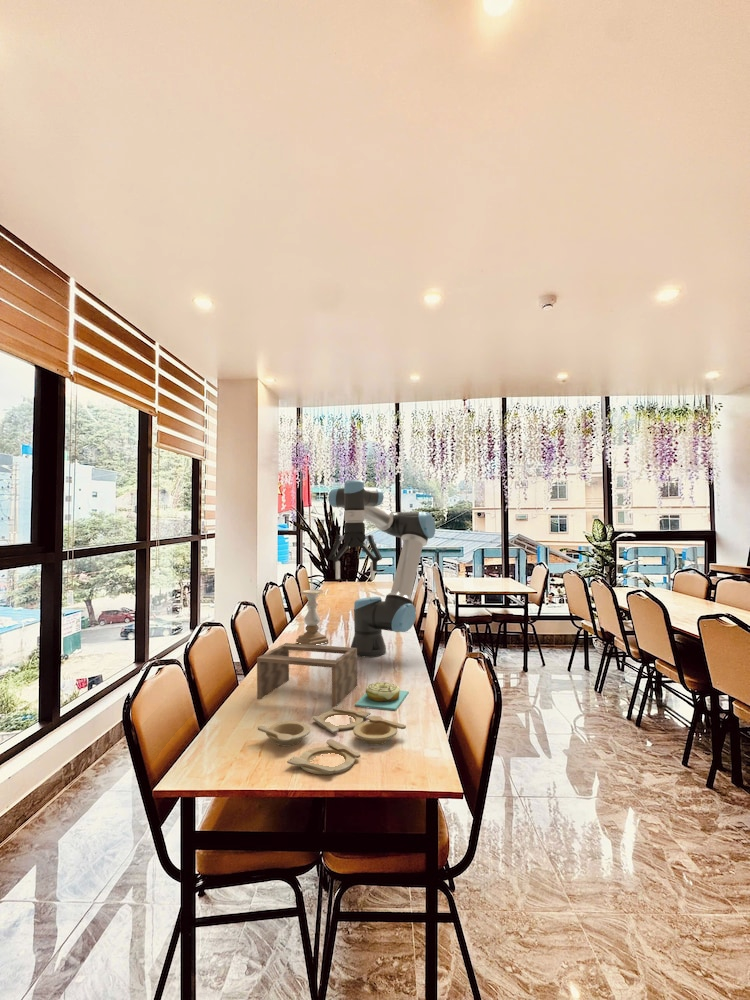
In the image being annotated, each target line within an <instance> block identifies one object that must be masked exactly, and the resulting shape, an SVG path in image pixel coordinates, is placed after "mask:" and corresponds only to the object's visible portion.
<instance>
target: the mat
mask: <svg viewBox="0 0 750 1000" xmlns="http://www.w3.org/2000/svg"><path fill="white" fill-rule="evenodd" d="M399 693H400V694H399V698H397V699H395V700H392V701H380V702H379V701H374V700H372V699H370V698H369V697H368V696H367V694H366V692H365V693H364V694H363V695H362V697H361V698H359V699H358V701H356V703H354V707H356V706H361V707H360V708H366V707H369V708H368V709H375V708H379V709H378V710H385V709H390V710H389V711H395V710H396V711H397V710H398V709H399V707H400V706H401V704H402V703H403V702H404V700H405V699H404V698H406V697H407V696H408V695H409V690H401V689H400V691H399ZM407 694H408V695H407ZM402 701H403V702H402ZM397 708H398V709H397Z"/></svg>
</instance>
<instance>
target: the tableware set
mask: <svg viewBox="0 0 750 1000" xmlns="http://www.w3.org/2000/svg"><path fill="white" fill-rule="evenodd" d="M334 715H348V716H351V717H353V718H354V719H355V722H353V723H352V722H351V724H347V725H339V726H335V725H333V724H331V723H330V722H325V720H326V719H327V718H328V717H331V716H334ZM364 718H368V721H364ZM312 720H313V721H314V722H316V723H317V725H318V726H319V727H321V728H323V729H326V730H328V731H329V732H330V733H332V734H337V733H338V732H339V731H347V730H351V729H353V730H352V731H353V734H354V736H355V737H357V738H358V739H360V740H362V742H363V743H365V744H366V745H371V744H379V745H383V744H385V742H386V743H387V742H388V741H389V739H391V738H393V737H395V736H396V735H397V734H398V733H397V732H398V729H401V730H404V729H406V728H407V725H406V724H403V723H399V722H396V721H395V722H394V721H391V720H387V719H384V718H383V717H382V716H380V715H374V714H373V715H372V714H371V712H369V711H368V712H367V711H361V710H360V711H357V710H356V711H355V710H351V709H346V708H343V707H339V706H336V707H332V711H327V712H324V713H322V714H320V715H319V716H317V715H314V716H312ZM311 730H312V729H311V726H310V725H309V724H307V723H305V722H303V721H296V720H295V721H294V720H288V721H279V722H276V723H273V724H272V725H270V726H268V727H267V726H265V725H259V726H257V731H259V732H262V733H264V734H266V736H267V737H268V738H269V739H271V740H273V741H274V743H275V742H276V743H277V745H278V744H279V745H278V746H281V745H291V746H294V745H293V744H295V745H297V743H298V744H299V743H300V742H301V741H302V740H303V738H304V737H306V736H308V735H309V734H310V732H311ZM382 743H383V744H382ZM326 744H327V745H326V746H317V747H314V748H311V749H308V750H306V751H304V752H303V753H301V755H300V756H293V757H291V758H290V759H288V760H287V761H286V763H287V764H289V765H292V766H296V767H300V768H301V769H302V770H303V771H305V772H308V773H311V774H314V775H322V774H323V775H334V774H333V773H336V774H339V773H338V772H340V773H343V772H346V771H348V770H350V767H351V766H352V765H353V766H354V764H355V762H356V759H359V758H361V753H359V752H358V751H356V750H354V749H352V748H350V747H348V746H347V745H344V744H342V743H340V742H338V741H337V740H335V739H333V738H329V739H327V740H326ZM328 753H330V754H331V753H335V754H339V755H341V756H343V757H344V759H345V762H344V763H342V764H340V765H338V766H335V767H329V766H323V765H319V764H314V763H310V762H312V761H310V760H313V759H314V758H316V756H320V755H321V754H328ZM322 756H323V755H322ZM313 761H314V760H313ZM351 768H352V767H351ZM347 769H348V770H347ZM345 770H346V771H345ZM342 771H343V772H342Z"/></svg>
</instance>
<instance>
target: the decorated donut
mask: <svg viewBox="0 0 750 1000" xmlns="http://www.w3.org/2000/svg"><path fill="white" fill-rule="evenodd" d="M400 690H401V688H400V687H399V686H398V685H396V684H395V683H390V682H384V681H380V682H377V681H376V682H373V683H369V684H368V685H367V687H365V693H366V694H367V696H368V697H369V698H370V699H372V700H374V701H379V702H380V701H392V700H395V699H397V698H399V694H400V693H399V691H400Z"/></svg>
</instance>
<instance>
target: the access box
mask: <svg viewBox="0 0 750 1000" xmlns="http://www.w3.org/2000/svg"><path fill="white" fill-rule="evenodd" d="M289 651H300V652H313V653H314V652H315V653H328V654H341V656H339V657H338V658H337V659H326V658H325V659H324V658H312V657H300V656H290V655H289V653H290V652H289ZM290 665H294V666H307V667H320V668H331V707H332V706H336V705H337V704H338V705H339V704H340V703H341V702H343V699H344V698H345V697H346V696H347V695H348V694H349V693H350V692H351V691H352V690H353V689H354V688H355V687H356V686H357V687H358V656H357V648H351V646H350V647H346V646H332V645H331V646H330V645H306V644H297V643H290V642H289V643H288V642H285V643H283V644H281V645H279V646H277V647H275V648H273V649H272V650H270V651H267V652H266V653H264V654H262V655H259V656H258V657H256V666H257V667H256V692H257V693H256V698H257V699H258V700H261V699H263V698H264V697H266V696H267V695H269V694H271V693H272V692H273V691H275V690H276V689H278V688H279V687H281V686H282V685H284V684H285V683H287V682H288V681H290ZM357 687H356V688H357ZM356 688H355V689H356ZM355 689H354V690H355ZM354 690H353V691H354ZM353 691H352V692H353ZM352 692H351V693H352ZM351 693H350V694H351ZM350 694H349V695H350ZM349 695H348V696H349ZM348 696H347V697H348ZM347 697H346V698H347ZM346 698H345V699H346ZM345 699H344V700H345ZM338 705H337V706H338ZM337 706H336V707H337Z"/></svg>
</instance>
